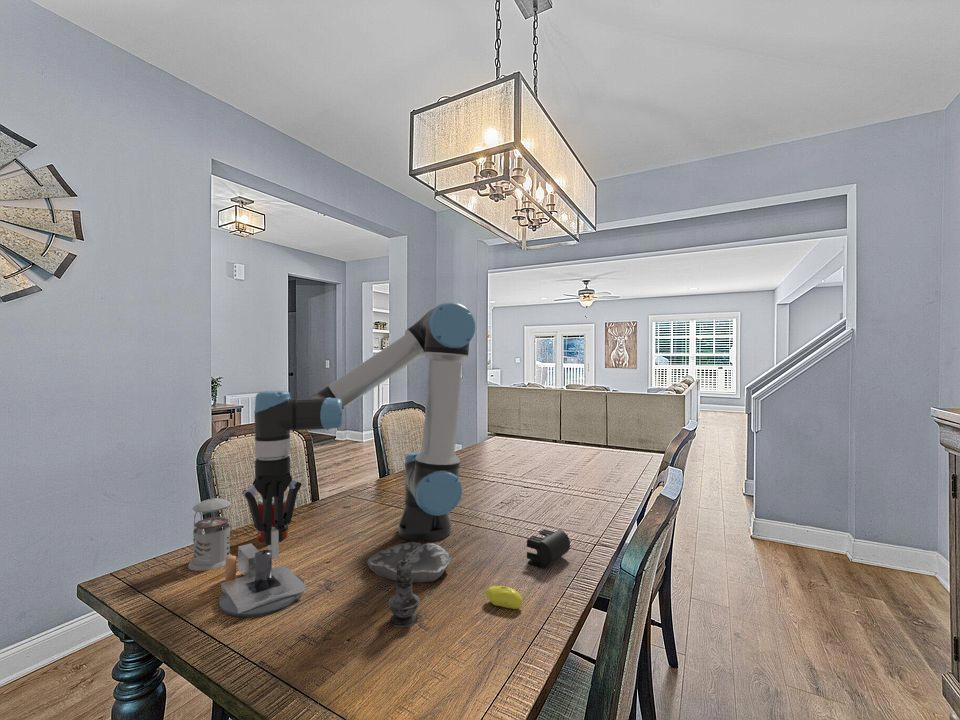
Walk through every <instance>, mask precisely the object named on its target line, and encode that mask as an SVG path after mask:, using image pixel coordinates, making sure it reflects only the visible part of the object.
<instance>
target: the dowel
mask: <svg viewBox="0 0 960 720" xmlns="http://www.w3.org/2000/svg"><path fill="white" fill-rule="evenodd" d="M233 579H237V556H236V555H233V556H229V557H227V558H226V565H225V582H226V581H230V580H233Z"/></svg>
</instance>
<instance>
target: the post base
mask: <svg viewBox="0 0 960 720" xmlns="http://www.w3.org/2000/svg"><path fill="white" fill-rule="evenodd" d="M258 551H259V552H257V553H255V586H252V587H249V590H250V591H251V592H252V594H255V593H258V592H261V591H264V590H268V589H271V588H274V587H277V586H278V585H277V584H276V583H275V582H274V581H273V580H272V568H273V560H272V551H271V550H268V549H262V550H258ZM295 575H296V576H297V577H298V578H299V579H300V580H301V581H302V582H303V583H304V584H305V581H304V579H303V578H302V577H301V576H300V575H297V574H295ZM304 592H305V591H303V592H300V593H297V594H294V595H292V596H289V597H286V598H283V599H280V600H277V601H274V602H271V603H268V604H265V605H262V606H259V607H256V608H253V609H250V610H247V611H244V612H241V613H237V612H236V610H235V609H234V607H233V606H232V604H231V603H230V601H229V599H228V598H227V596H226V595H225V593H224V592H223V591H222V593H221V594H220V596H219V599H218V600H219V601H218V602H219V604H218V605H219V606H218V607H219V609H220V611H221V612H222V614H225V615H226V616H230V617H234V618H255V617H262V616H265V615H270V614H274V613H277V612H279V611H282V610H283V609H286V608H288V607H289V606H291V605H293V604H294V603H296V602H297V601H298V600H299V599H300V598H302V595H304Z"/></svg>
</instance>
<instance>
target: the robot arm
mask: <svg viewBox="0 0 960 720" xmlns="http://www.w3.org/2000/svg"><path fill="white" fill-rule="evenodd" d="M475 333H476V321H475V318H474V315H473V314H472V312H471V311H470V310H469V309H468V308H467V307H466V306H464V305H463V304H461V303H458V302H444V303H441V304H439V305H437V306H436V307H434V308H432V309H430V310H429V311H427V312H426V314H424V315H423V316H422V317H421V318H420V319H419V320H418V321H416V322H415V323H414V324H413V325H411V326H410V327H409V328H407V329H405V331H404V335H402V336H401V337H400V338H398V339H397V340H395V341H394V342H393V343H391V344H389V345H388V346H386V347H385V348H383V349H382V350H380V351H379V352H377V353H376V354H374V355H372V356H371V357H369V358H368V359H366V360H365V361H363V362H362V363H361V364H359V365H357V366H355V368H353V369H351V370H350V371H348V372H347V373H345V374H344V375H342V376H340V377H339V378H338V379H336V380H334V381H333V382H332V383H330V384H329V385H328V386H326V387H324V388H323V389H321V390H319V391H318V392H317V393H314V394H312V395H311V396H309V397H308V398H292V397H291V393H290V392H289V391H287V390H267V391H260V392H258V393H257V394H256V395H255V400H254V401H255V402H254V411H253V412H254V456H255V457H256V459H255V461H254V475H255V476H254V479H253V482H252V485H251V486H250V487H249V488H248V489H245V490H243V491H242V493H241V494H242V495H243V496H244V498H245V499H246V501H247V505H248V508H249V511H250V515H251V518H252V521H253V526H254V528H255V529H256V530H257V532H258V531H264V542H263V544H264V545H265V546H267V550H271V551H272V561H273V560H276V559H279V557H280V555H279V553H280V552H279V547H280V546H279V543H281V542H282V541H283V540H284V539H283V537H282V536H283V535H282V530H283V529H284V526H285V525H287V524H288V525H289V524H291V522H292V518H293V514H294V510H295V505H296V500H297V496H298V492H299V491H300V489H301V487H302V482H300V481H298V480H294V479H293V476H292V475H291V457H290V456H289V455H290V454H291V431H294V432H295V431H311V430H312V431H315V430H325V431H326V430H327V431H328V430H331V429H332V430H333V429H339V428H341V427H342V425H343V410H344V409H346V408H347V407H348V406H350V405H351V404H352V403H354V402H356V401H357V400H358V399H360V398H362V397H363V396H364V395H366V394H368V392H371V391H372V390H373V389H374V388H376V387H378V386H379V385H381V384H382V383H384V382H385V381H387V380H388V379H389V378H391V377H393V376H394V375H396V374H397V373H399V372H400V371H402V370H403V369H404V368H406V367H407V366H409V365H410V364H412V363H414V362H415V361H416V360H418V359H419V358H422V359H425V358H428V359H427V360H428V373H427V386H426V399H425V410H424V423H423V431H422V447H421V451H417V452H410V453H407V454H406V456H405V460H404V464H403V465H404V507H403V511H402V513H401V516H400V517H401V518H400V520H399V523H398V535H399V537H400V538H402V539H403V540H407V541H409V542H419V543H424V542H426V543H428V542H433V541H434V542H435V541H439V540H442V539H445V538H447V537H448V536H449V535H450V534H451V532H452V522H451V519H450V516H449V513H451V512H452V511H453V510H454V509H455V508H457V506H458V505H460V504H459V503H460V502H461V500H462V496H463V484H462V481H461V480H460V477H459V475H460V466H461V465H460V463H461V459H460V458H459V456H457V455H456V440H457V428H458V416H459V403H460V390H461V379H462V366H463V362H464V361H465V360H466V359H467V358H468V357H469V351H470V342H471V341H472V339H473V337H474V336H475ZM287 489H288V492H287V495H286V496H287V500H286V504H285V509H284V513H283V499H284V495H285V492H286V490H287ZM256 491H257V493H258V494H259V495H260V496H261V497H262V500H263V523H262V519H261V516H260V512H259V509H258V500H257V499H256V498H255V497H256V496H257V493H256ZM273 497H274V525H275V527H273V528H272V501H273ZM282 539H283V540H282Z"/></svg>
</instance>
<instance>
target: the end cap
mask: <svg viewBox="0 0 960 720" xmlns="http://www.w3.org/2000/svg"><path fill="white" fill-rule="evenodd" d="M538 534H539V535H541V536H544V537H540V536H537V535H536V536H535V535H532V536H531V537H529V538H527V539H526V547H527V548H529V549H533V550H535V551H536V553H533V552H530V551H526V559H528V561H527V565H528V566H531V567H534V568H538V569H540V570H544V569H546V568H548V567H549V566H550V565H552V564H553V563H555V562H556V561H557V560H559V559H560V558H562V557H563V556H565V554H566V553H568V552H569V550H570V548H571V540H570V538H569V536H568V534H567V533H566V532H565V531H563V530H561V529H558V530H557V531H552V530H548V529H542V530H540V531H539V533H538Z"/></svg>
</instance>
